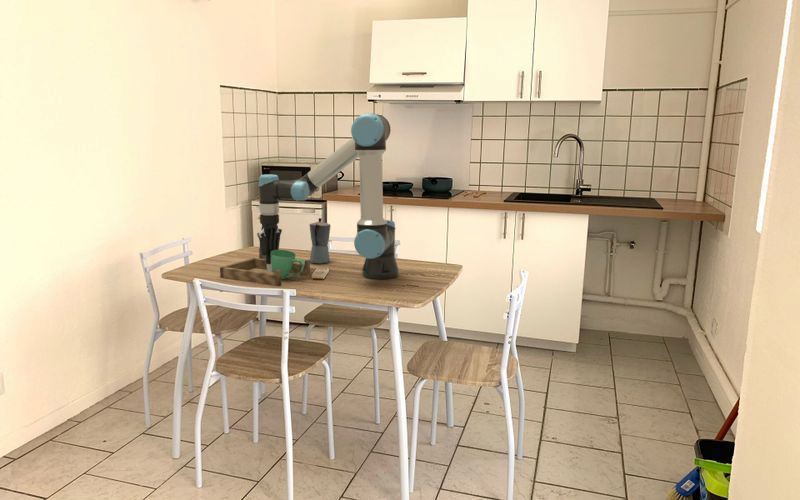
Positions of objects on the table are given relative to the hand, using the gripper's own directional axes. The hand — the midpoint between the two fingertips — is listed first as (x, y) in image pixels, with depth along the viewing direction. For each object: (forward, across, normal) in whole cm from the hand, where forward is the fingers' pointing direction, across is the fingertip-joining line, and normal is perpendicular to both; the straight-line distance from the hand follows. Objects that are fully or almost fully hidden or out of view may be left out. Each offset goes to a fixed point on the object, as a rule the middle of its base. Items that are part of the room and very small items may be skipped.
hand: (270, 271), depth 240 cm
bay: (+2, -2, -3) cm, 4 cm away
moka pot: (+2, -32, +3) cm, 32 cm away
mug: (+2, 0, +7) cm, 8 cm away
